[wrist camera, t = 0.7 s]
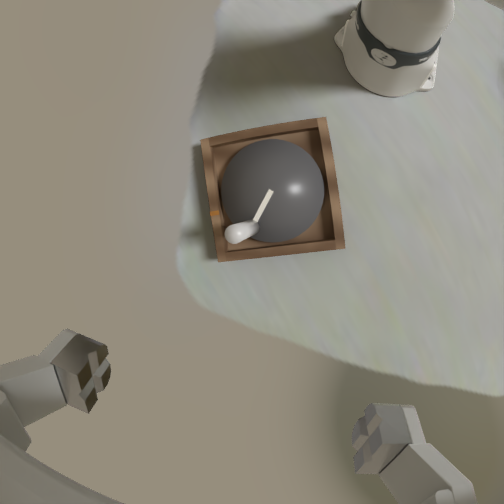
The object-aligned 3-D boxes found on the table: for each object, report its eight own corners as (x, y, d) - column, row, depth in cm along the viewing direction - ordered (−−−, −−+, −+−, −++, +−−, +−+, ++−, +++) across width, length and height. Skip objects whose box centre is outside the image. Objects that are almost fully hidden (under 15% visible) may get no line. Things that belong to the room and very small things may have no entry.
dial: (251, 124, 47) (232, 104, 36) (342, 170, 45) (348, 161, 34) (207, 211, 51) (177, 214, 40) (292, 259, 49) (284, 276, 38)
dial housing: (207, 143, 50) (199, 139, 47) (325, 122, 46) (325, 116, 42) (224, 258, 53) (217, 262, 49) (343, 245, 48) (345, 248, 45)
